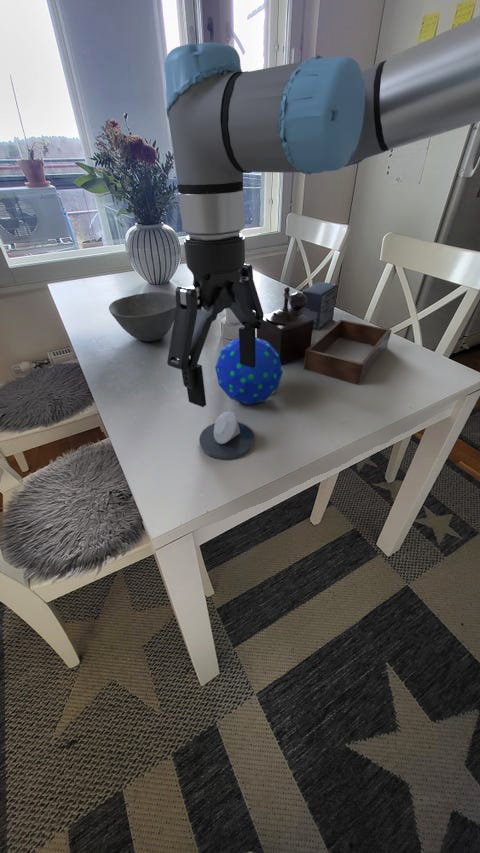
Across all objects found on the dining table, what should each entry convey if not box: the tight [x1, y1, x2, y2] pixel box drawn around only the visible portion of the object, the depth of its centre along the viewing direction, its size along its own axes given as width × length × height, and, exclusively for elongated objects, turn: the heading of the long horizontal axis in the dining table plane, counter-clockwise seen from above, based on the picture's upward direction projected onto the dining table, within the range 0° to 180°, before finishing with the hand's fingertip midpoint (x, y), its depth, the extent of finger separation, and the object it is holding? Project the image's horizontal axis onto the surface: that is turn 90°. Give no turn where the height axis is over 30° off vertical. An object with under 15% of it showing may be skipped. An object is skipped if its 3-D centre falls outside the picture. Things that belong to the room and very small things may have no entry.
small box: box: [302, 281, 338, 331], centre depth 102 cm, size 11×6×10 cm, turn 144°
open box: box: [303, 319, 392, 386], centre depth 85 cm, size 14×22×5 cm, turn 146°
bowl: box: [108, 291, 176, 342], centre depth 96 cm, size 19×19×10 cm
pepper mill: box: [256, 286, 314, 365], centre depth 83 cm, size 16×11×18 cm
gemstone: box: [214, 410, 240, 444], centre depth 62 cm, size 6×6×5 cm
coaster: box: [198, 421, 255, 461], centre depth 63 cm, size 10×10×1 cm
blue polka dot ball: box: [215, 337, 283, 405], centre depth 72 cm, size 14×14×15 cm
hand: (224, 383), depth 55 cm, fingers open, 13 cm apart
